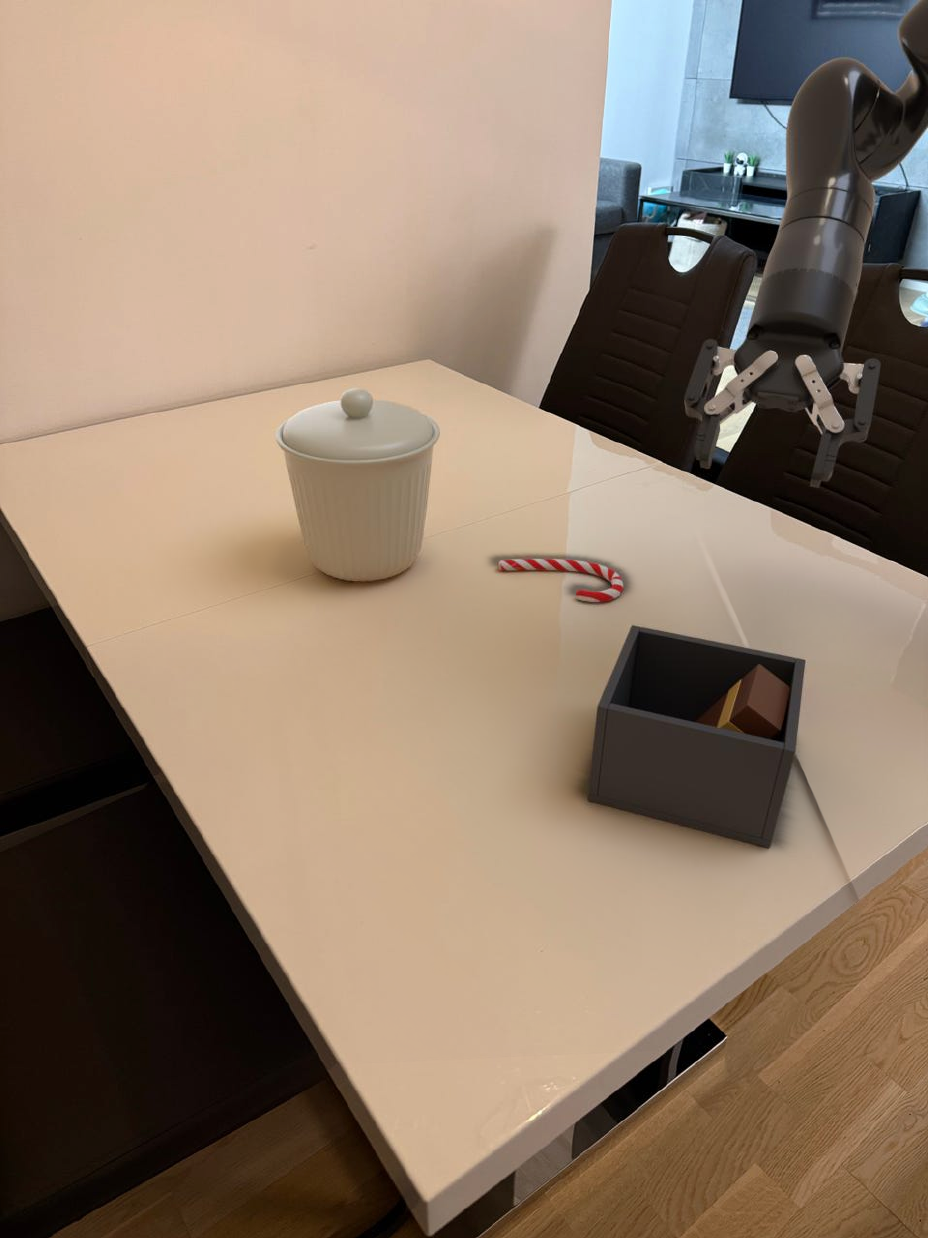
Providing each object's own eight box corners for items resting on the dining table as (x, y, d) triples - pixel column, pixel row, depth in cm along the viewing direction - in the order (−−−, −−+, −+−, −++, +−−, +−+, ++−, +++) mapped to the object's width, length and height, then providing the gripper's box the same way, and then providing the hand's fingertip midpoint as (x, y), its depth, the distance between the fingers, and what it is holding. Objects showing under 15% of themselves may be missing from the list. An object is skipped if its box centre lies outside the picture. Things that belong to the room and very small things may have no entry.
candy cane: (505, 547, 111) (629, 566, 107) (504, 557, 111) (628, 575, 108) (487, 577, 104) (618, 598, 101) (487, 587, 105) (617, 608, 101)
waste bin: (782, 750, 81) (805, 659, 76) (769, 848, 71) (795, 751, 66) (620, 713, 85) (631, 624, 80) (586, 800, 75) (597, 706, 70)
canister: (442, 598, 103) (442, 417, 92) (280, 601, 102) (260, 418, 91) (437, 526, 118) (437, 364, 107) (296, 528, 117) (281, 365, 106)
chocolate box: (717, 751, 80) (791, 687, 74) (703, 795, 75) (781, 731, 69) (686, 728, 80) (758, 662, 74) (671, 770, 75) (746, 704, 69)
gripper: (717, 256, 74) (665, 438, 71) (907, 273, 69) (860, 469, 66) (720, 310, 81) (672, 477, 78) (893, 328, 76) (849, 508, 73)
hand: (758, 473), depth 72 cm, fingers open, 8 cm apart
